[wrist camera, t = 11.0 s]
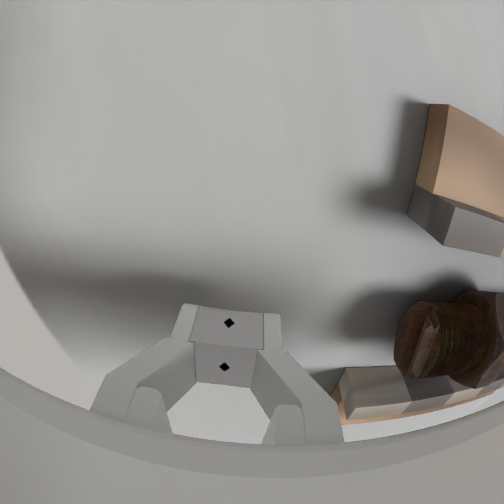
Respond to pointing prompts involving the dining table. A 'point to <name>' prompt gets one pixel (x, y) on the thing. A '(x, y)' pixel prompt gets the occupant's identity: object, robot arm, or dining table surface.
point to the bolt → (453, 339)
